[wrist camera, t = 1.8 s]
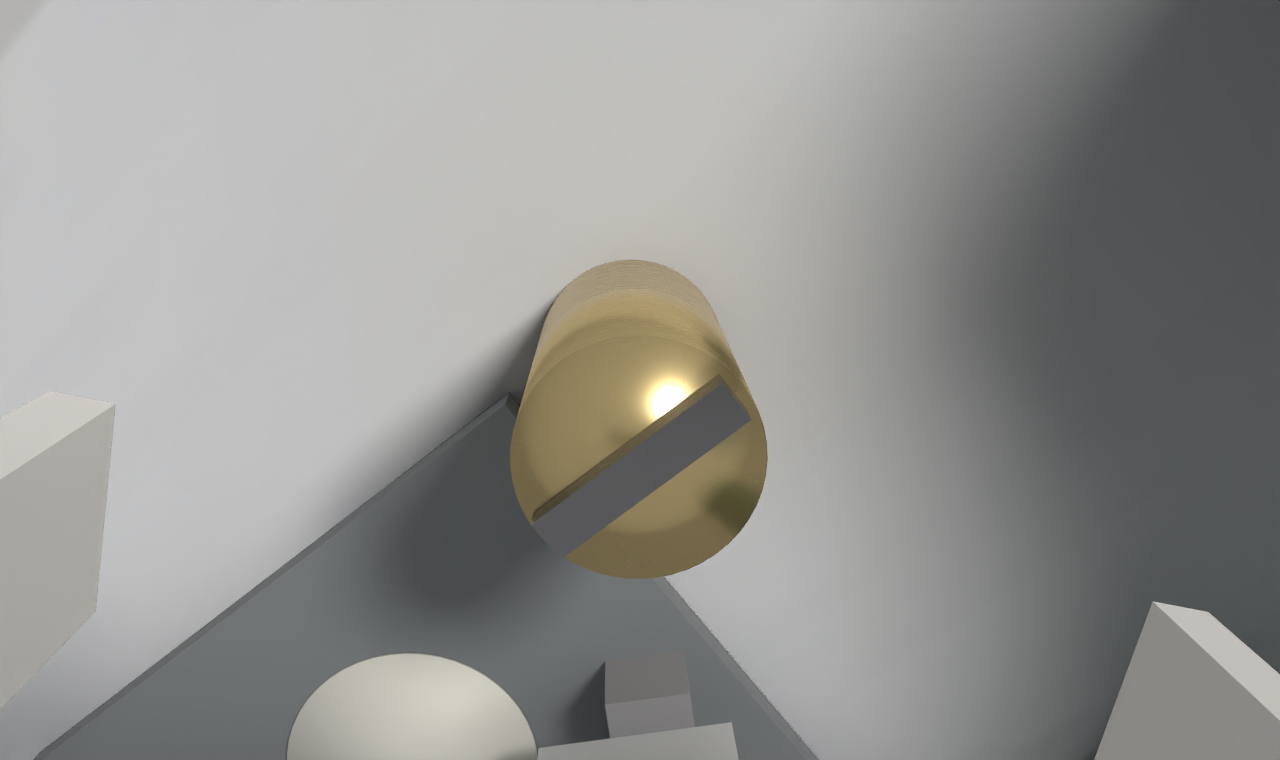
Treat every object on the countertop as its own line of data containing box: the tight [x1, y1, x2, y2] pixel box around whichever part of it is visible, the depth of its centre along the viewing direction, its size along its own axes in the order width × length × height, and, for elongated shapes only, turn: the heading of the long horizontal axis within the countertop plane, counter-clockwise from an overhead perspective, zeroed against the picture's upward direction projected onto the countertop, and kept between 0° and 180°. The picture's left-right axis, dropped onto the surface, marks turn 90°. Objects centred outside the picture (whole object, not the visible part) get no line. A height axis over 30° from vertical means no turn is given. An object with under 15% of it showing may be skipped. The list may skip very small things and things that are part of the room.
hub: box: [510, 260, 767, 579], centre depth 22 cm, size 4×4×9 cm
